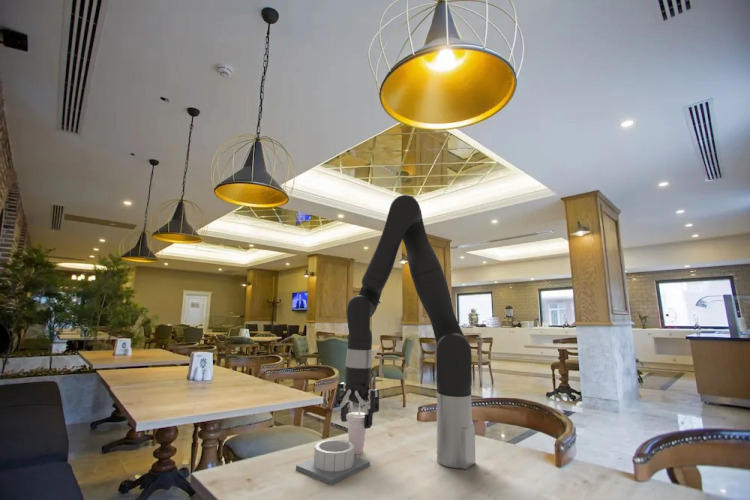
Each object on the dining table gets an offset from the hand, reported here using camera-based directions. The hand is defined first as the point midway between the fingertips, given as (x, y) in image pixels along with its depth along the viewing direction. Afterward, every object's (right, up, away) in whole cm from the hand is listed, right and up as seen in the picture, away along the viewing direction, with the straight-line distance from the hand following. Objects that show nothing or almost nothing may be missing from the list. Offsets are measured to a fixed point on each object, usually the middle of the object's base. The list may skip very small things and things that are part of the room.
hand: (355, 424), depth 104 cm
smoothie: (0, -7, -1) cm, 7 cm away
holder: (-5, -5, -12) cm, 14 cm away
